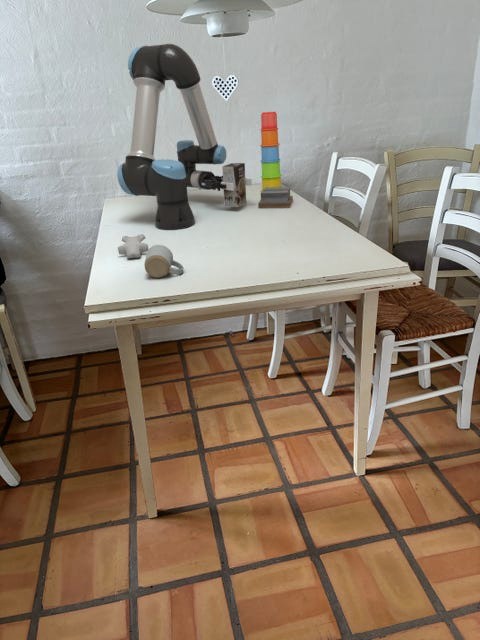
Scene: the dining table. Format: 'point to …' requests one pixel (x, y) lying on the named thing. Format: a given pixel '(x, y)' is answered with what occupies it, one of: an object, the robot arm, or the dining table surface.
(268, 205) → the tower stand
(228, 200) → the coffee box
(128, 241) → the grey teddy bear
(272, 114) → the stacking cups
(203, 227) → the dining table surface
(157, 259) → the ceramic mug
